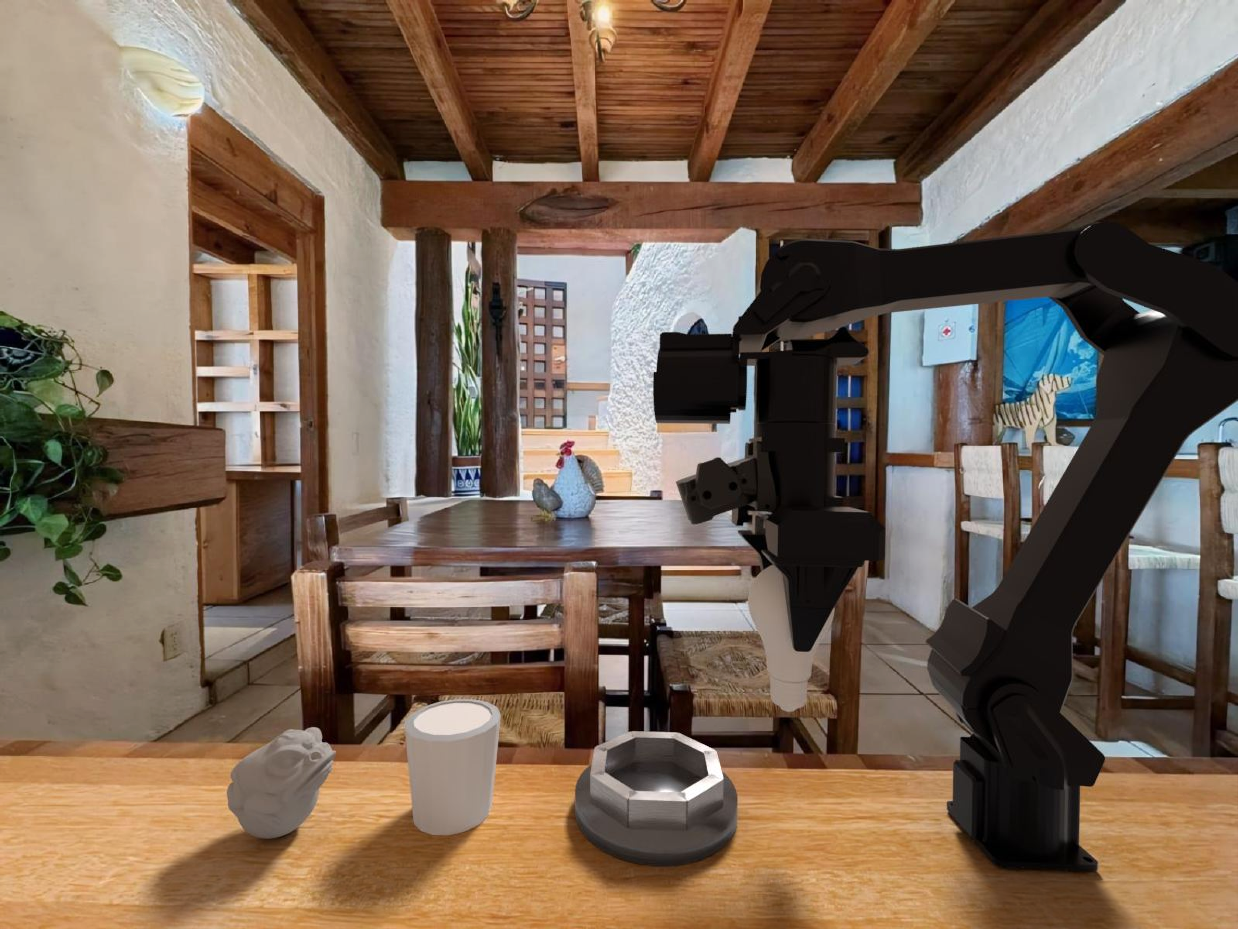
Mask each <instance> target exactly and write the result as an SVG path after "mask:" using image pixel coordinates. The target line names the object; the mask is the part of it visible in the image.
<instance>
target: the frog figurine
mask: <svg viewBox="0 0 1238 929" xmlns="http://www.w3.org/2000/svg"><path fill="white" fill-rule="evenodd" d="M322 739H323V734H322V731H321V729H320V728H318V727H314V726H311V727H307V728H306V729H304V730H302V729H292V728H291V729H290V728H289V729H288V730H284V731H283V732H282V733H281V734H279V735H278V736H276V737H275V738H274V739H273V740H272V741H269V742H268V743H267V744H266V745H263V746H262V747H260V748H258V749H255V750H254V751H252V752H251V753H249V754H248V755H246V756H245V757H243V758H242V759H241V760H239V761H238V763H237V764H236V765H235V766H234V767H233V768H232V770H231V772H230V779H231V781H232V782H231V783H230V784H228V786H227V790H226V798H227V806H228V807H227V808H228V809H229V811H230V812H231V813H232V814H233V815H234V816H235V817H236V818H237V820H238V822H239V825H240V826H241V827H242V829H243V830H244V831H245V832H246V833H248V834H249V835H250V836H253V837H256V838H259V839H264V840H267V839H270V840H272V839H277V838H280V837H283V836H285V835H287V834H289V833H291V832H293V831H295V830H296V829H297V828H299V827H300V826H301V825H302V824H303V823H304V822H305V821H306V820H307V819H308V817H309V816H310V815H311V814H312V812H313V810H314V809H315V806H316V805H317V802H318V800H319V799H318V798H319V795H320V788H321V787H322V786H323V785H324V784H325V782H326V780H327V778H328V776H329V774H330V773H331V772H332V771H333V770H332V769H333V767H332V765H334V763H335V761H334V758H335V756H336V755H337V751H336V750H333V749H332V747H331V745H330V744H329V743H328V742H326V741H325V742H322V741H323V740H322Z"/></svg>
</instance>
